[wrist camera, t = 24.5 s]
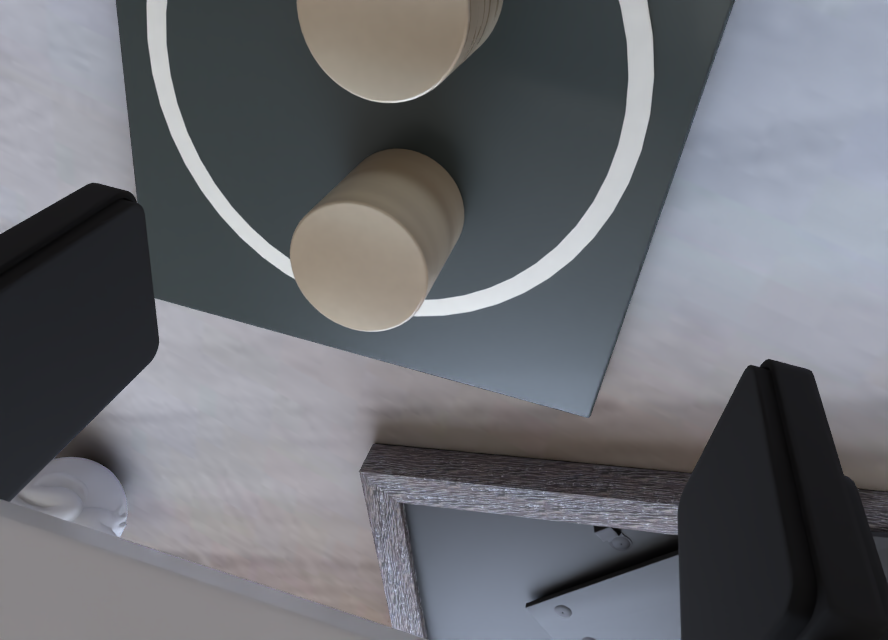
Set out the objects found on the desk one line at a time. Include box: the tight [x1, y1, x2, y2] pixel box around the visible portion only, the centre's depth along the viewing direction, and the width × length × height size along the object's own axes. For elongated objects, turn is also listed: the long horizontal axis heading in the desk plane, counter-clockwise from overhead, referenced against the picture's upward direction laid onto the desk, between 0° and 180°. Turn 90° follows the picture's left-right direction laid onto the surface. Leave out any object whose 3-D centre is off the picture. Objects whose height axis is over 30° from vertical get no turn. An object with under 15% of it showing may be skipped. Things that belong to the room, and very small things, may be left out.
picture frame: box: [359, 444, 888, 640], centre depth 27 cm, size 13×2×18 cm
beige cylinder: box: [290, 149, 464, 332], centre depth 19 cm, size 4×4×4 cm
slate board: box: [116, 0, 735, 418], centre depth 19 cm, size 18×16×1 cm
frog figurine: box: [10, 457, 127, 538], centre depth 30 cm, size 6×7×7 cm
